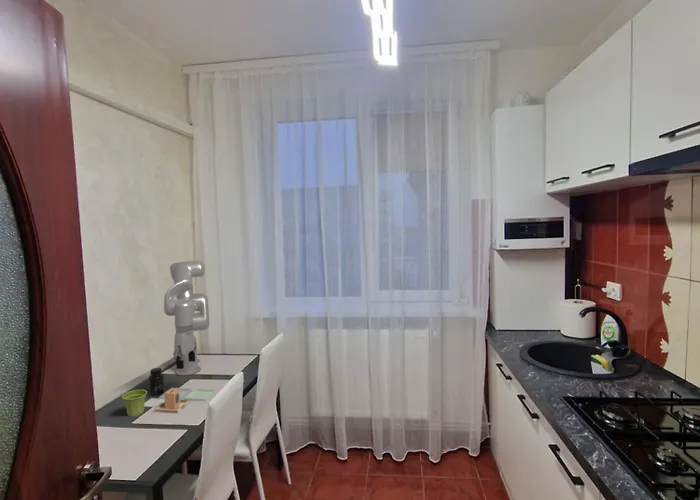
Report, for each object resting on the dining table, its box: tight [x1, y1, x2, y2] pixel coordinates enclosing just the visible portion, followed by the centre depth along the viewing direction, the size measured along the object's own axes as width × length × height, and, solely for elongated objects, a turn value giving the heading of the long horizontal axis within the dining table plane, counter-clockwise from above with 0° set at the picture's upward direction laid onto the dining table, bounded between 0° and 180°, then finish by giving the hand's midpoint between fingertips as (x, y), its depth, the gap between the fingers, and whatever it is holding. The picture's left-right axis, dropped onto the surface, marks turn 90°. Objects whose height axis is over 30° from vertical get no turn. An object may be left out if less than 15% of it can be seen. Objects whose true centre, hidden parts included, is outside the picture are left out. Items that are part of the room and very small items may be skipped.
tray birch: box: [153, 399, 191, 414], centre depth 179 cm, size 11×11×2 cm
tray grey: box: [158, 387, 193, 400], centre depth 191 cm, size 11×11×2 cm
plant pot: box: [121, 389, 148, 417], centre depth 173 cm, size 9×9×9 cm
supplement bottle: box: [147, 367, 166, 397], centre depth 194 cm, size 7×7×12 cm
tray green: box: [182, 388, 217, 402], centre depth 190 cm, size 11×11×2 cm
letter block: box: [163, 388, 180, 410], centre depth 178 cm, size 4×5×7 cm
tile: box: [144, 397, 165, 408], centre depth 183 cm, size 8×8×1 cm
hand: (186, 364), depth 189 cm, fingers open, 9 cm apart
